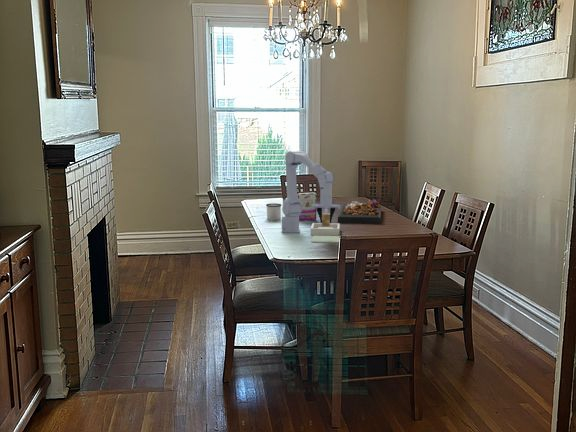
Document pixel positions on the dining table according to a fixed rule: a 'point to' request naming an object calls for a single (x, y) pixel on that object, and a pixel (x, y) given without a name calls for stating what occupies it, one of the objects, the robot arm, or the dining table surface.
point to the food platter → (360, 213)
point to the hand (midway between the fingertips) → (325, 222)
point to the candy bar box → (307, 206)
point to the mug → (273, 211)
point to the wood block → (325, 219)
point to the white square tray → (325, 229)
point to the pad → (325, 239)
